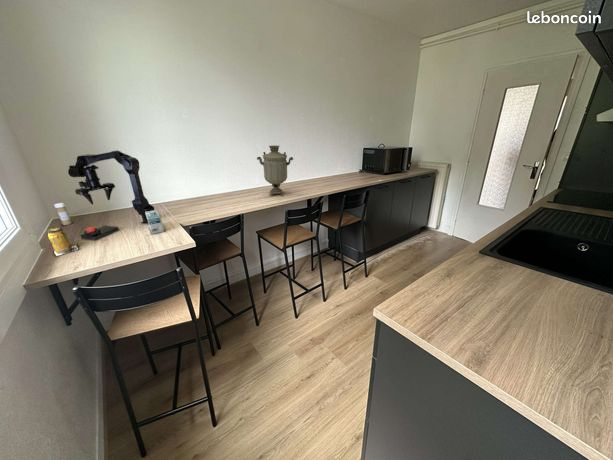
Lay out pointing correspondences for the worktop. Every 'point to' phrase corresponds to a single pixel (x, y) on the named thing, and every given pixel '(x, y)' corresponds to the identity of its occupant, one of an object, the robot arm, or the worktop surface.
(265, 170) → the samovar
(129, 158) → the robot arm
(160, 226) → the light bulb box
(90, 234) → the black control pad
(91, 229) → the button
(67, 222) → the sprinkles bottle
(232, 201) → the worktop surface
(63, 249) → the condiment
